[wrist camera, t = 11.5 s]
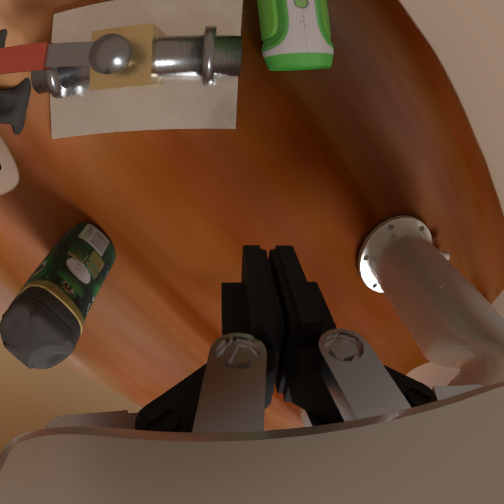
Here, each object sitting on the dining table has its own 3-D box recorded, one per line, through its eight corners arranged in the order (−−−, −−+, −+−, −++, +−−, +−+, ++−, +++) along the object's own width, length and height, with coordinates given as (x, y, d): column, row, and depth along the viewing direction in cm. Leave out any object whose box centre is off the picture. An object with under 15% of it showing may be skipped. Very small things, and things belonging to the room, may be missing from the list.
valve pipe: (242, -5, 26) (247, -25, 20) (235, 127, 34) (238, 136, 28) (53, 16, 24) (23, 8, 17) (52, 137, 31) (21, 150, 25)
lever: (141, 38, 22) (132, 33, 19) (134, 75, 23) (124, 74, 21) (13, 45, 19) (-3, 44, 17) (8, 78, 21) (-8, 79, 18)
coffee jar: (85, 288, 42) (39, 385, 26) (49, 250, 39) (-16, 338, 23) (127, 253, 40) (83, 357, 24) (88, 210, 37) (17, 297, 21)
